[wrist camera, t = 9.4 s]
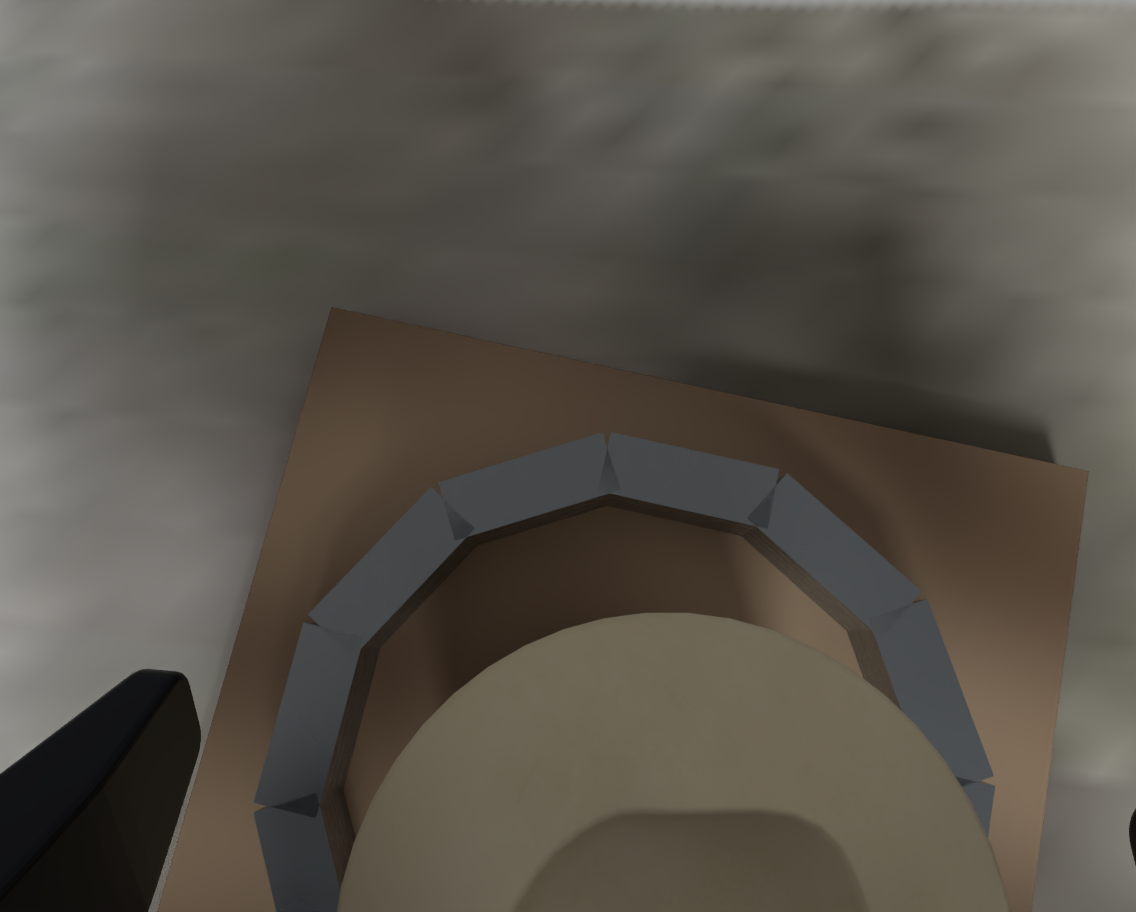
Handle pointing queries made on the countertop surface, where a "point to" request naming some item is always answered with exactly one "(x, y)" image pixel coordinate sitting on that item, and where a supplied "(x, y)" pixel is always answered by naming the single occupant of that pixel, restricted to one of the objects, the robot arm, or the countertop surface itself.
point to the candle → (670, 786)
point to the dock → (606, 581)
